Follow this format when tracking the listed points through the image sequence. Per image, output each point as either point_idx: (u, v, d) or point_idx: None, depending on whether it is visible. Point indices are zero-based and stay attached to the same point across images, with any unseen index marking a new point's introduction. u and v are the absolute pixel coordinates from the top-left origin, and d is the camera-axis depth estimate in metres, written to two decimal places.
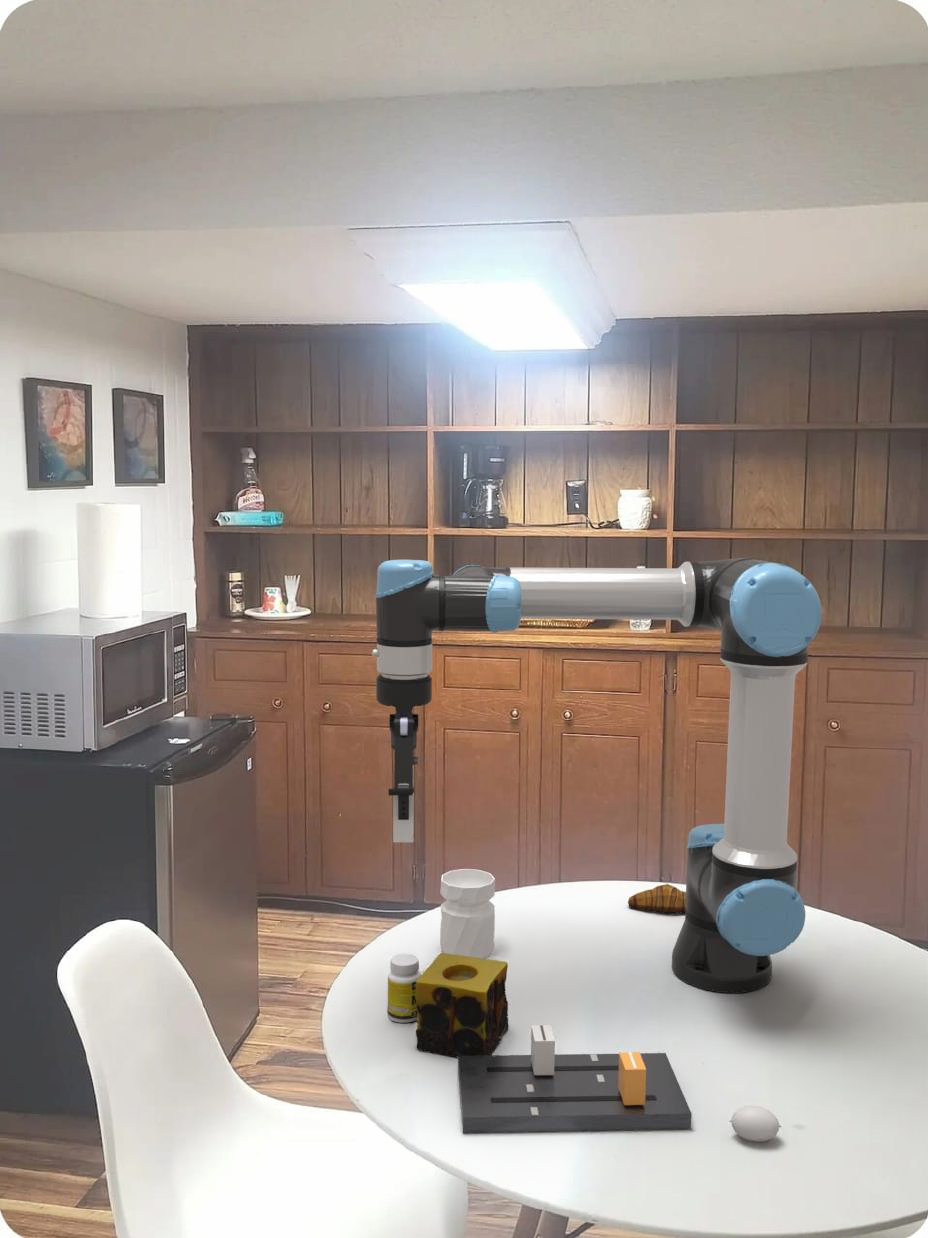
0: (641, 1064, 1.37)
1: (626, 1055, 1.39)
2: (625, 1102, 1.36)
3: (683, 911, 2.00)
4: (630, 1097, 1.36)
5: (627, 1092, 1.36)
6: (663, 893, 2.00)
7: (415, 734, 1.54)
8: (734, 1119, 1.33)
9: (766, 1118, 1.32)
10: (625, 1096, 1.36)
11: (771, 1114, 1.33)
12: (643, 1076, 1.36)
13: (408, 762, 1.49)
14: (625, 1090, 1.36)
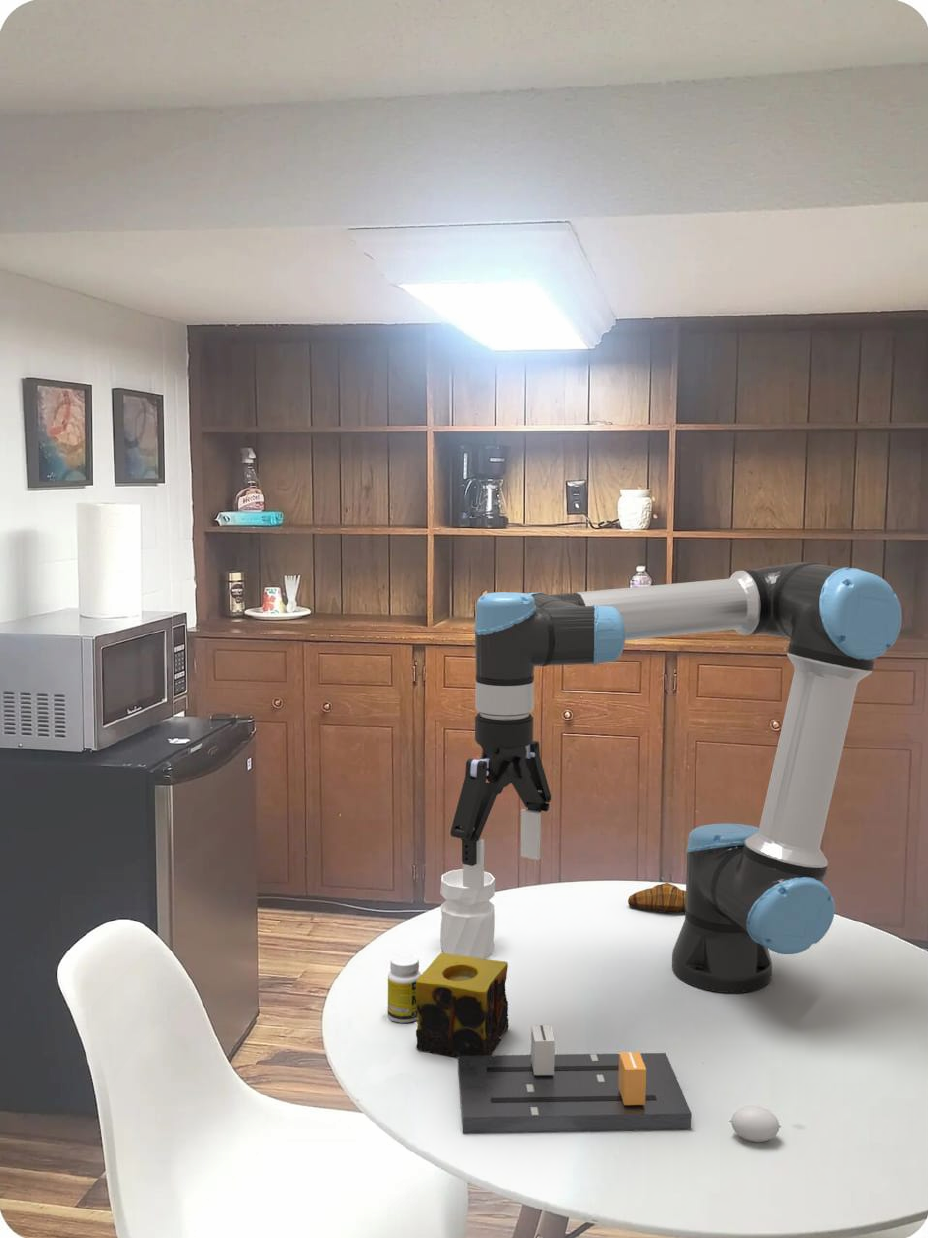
0: (641, 1064, 1.37)
1: (626, 1055, 1.39)
2: (625, 1102, 1.36)
3: (683, 910, 2.00)
4: (630, 1097, 1.36)
5: (627, 1092, 1.36)
6: (663, 892, 2.00)
7: (500, 778, 1.45)
8: (734, 1119, 1.33)
9: (766, 1118, 1.32)
10: (625, 1096, 1.36)
11: (771, 1114, 1.33)
12: (643, 1076, 1.36)
13: (470, 806, 1.41)
14: (625, 1090, 1.36)
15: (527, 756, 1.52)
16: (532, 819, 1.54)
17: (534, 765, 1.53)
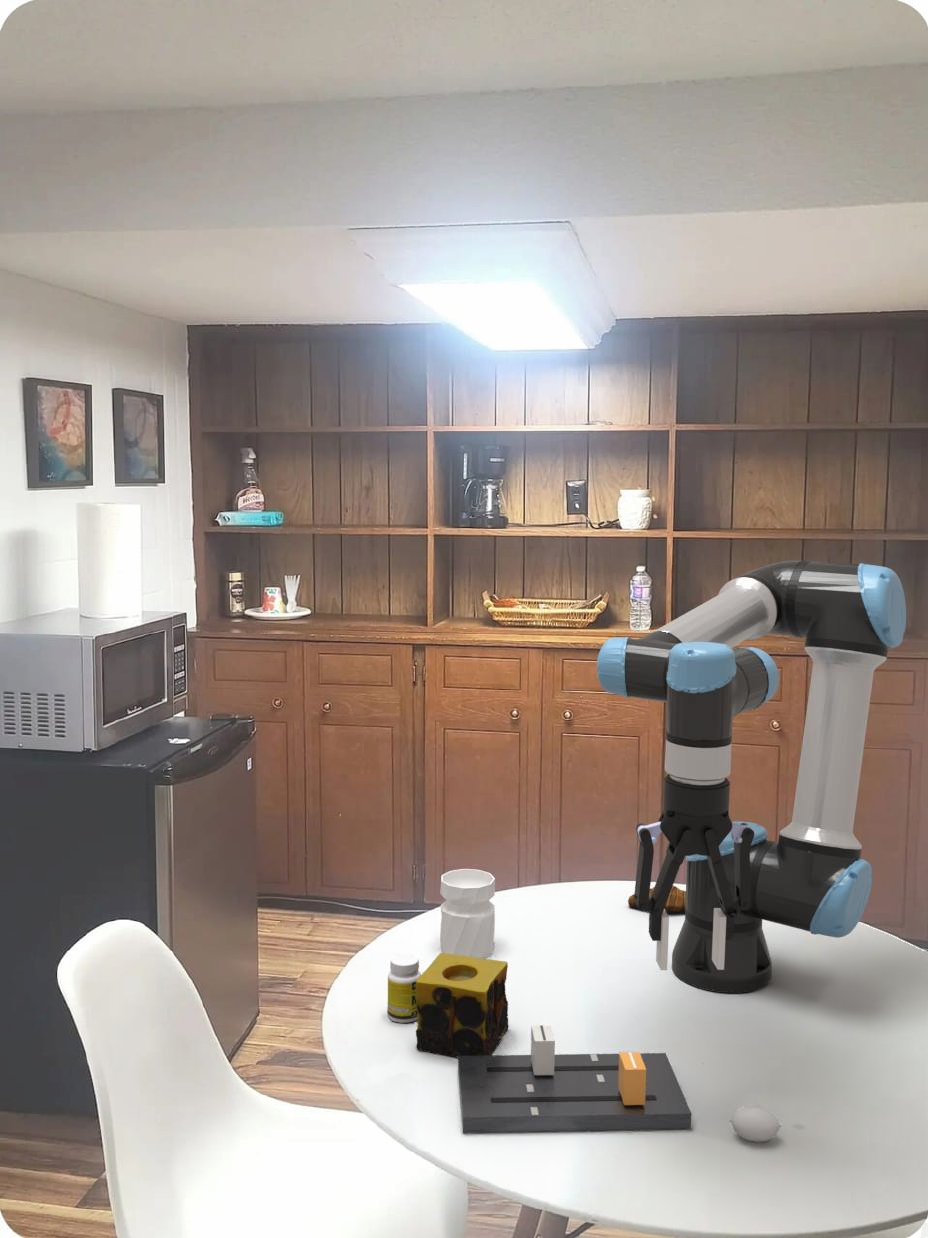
0: (641, 1064, 1.37)
1: (626, 1055, 1.39)
2: (625, 1102, 1.36)
3: (683, 910, 2.00)
4: (630, 1097, 1.36)
5: (627, 1092, 1.36)
6: None
7: (676, 848, 1.33)
8: (734, 1119, 1.33)
9: (766, 1118, 1.32)
10: (625, 1096, 1.36)
11: (771, 1114, 1.33)
12: (643, 1076, 1.36)
13: (640, 876, 1.34)
14: (625, 1090, 1.36)
15: (734, 838, 1.34)
16: (717, 922, 1.35)
17: (738, 854, 1.34)
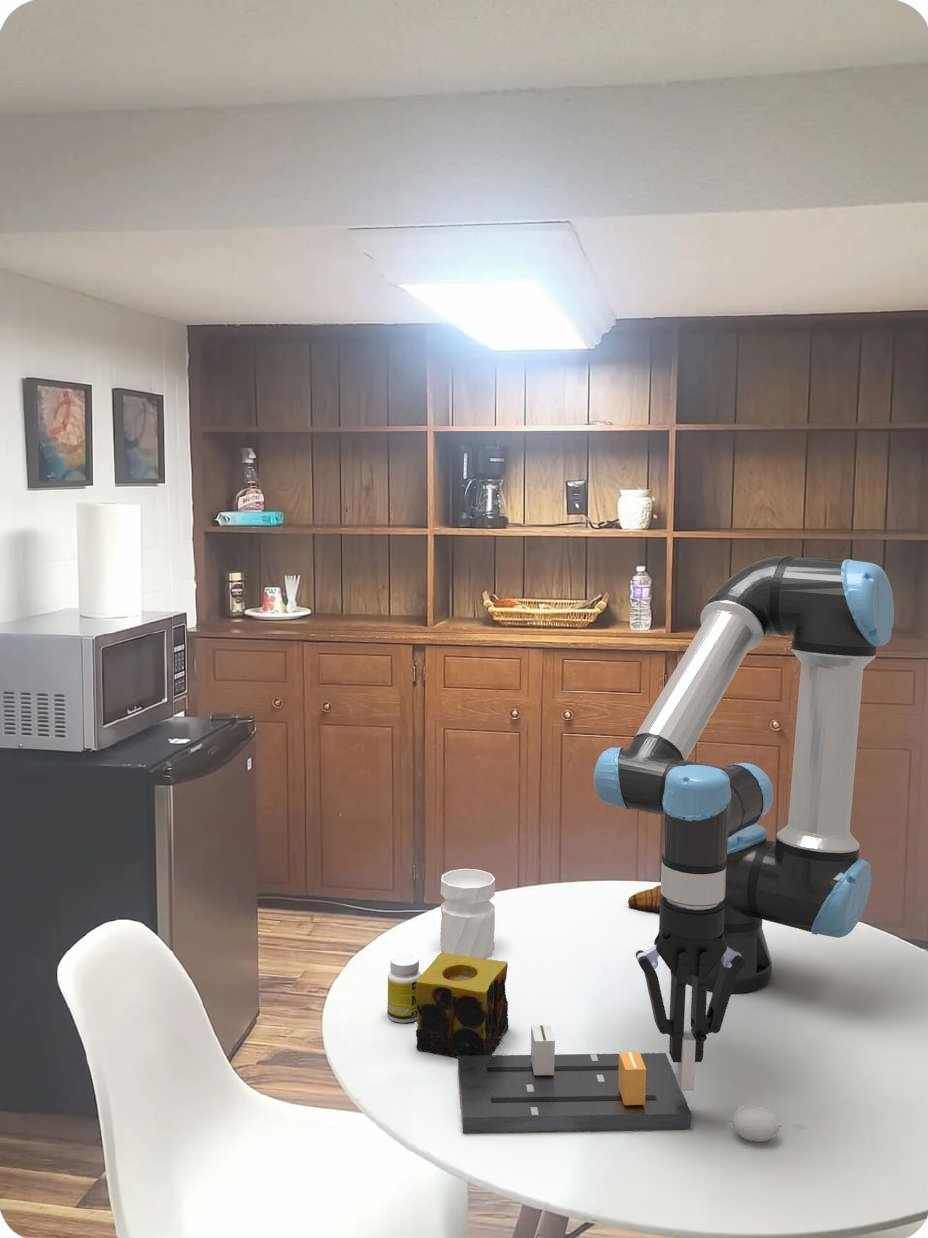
0: (641, 1064, 1.37)
1: (626, 1055, 1.39)
2: (625, 1102, 1.36)
3: None
4: (630, 1097, 1.36)
5: (627, 1092, 1.36)
6: None
7: (677, 972, 1.35)
8: (734, 1119, 1.33)
9: (766, 1118, 1.32)
10: (625, 1096, 1.36)
11: (771, 1114, 1.33)
12: (643, 1076, 1.36)
13: (652, 1001, 1.36)
14: (625, 1090, 1.36)
15: (724, 962, 1.36)
16: None
17: (724, 978, 1.36)
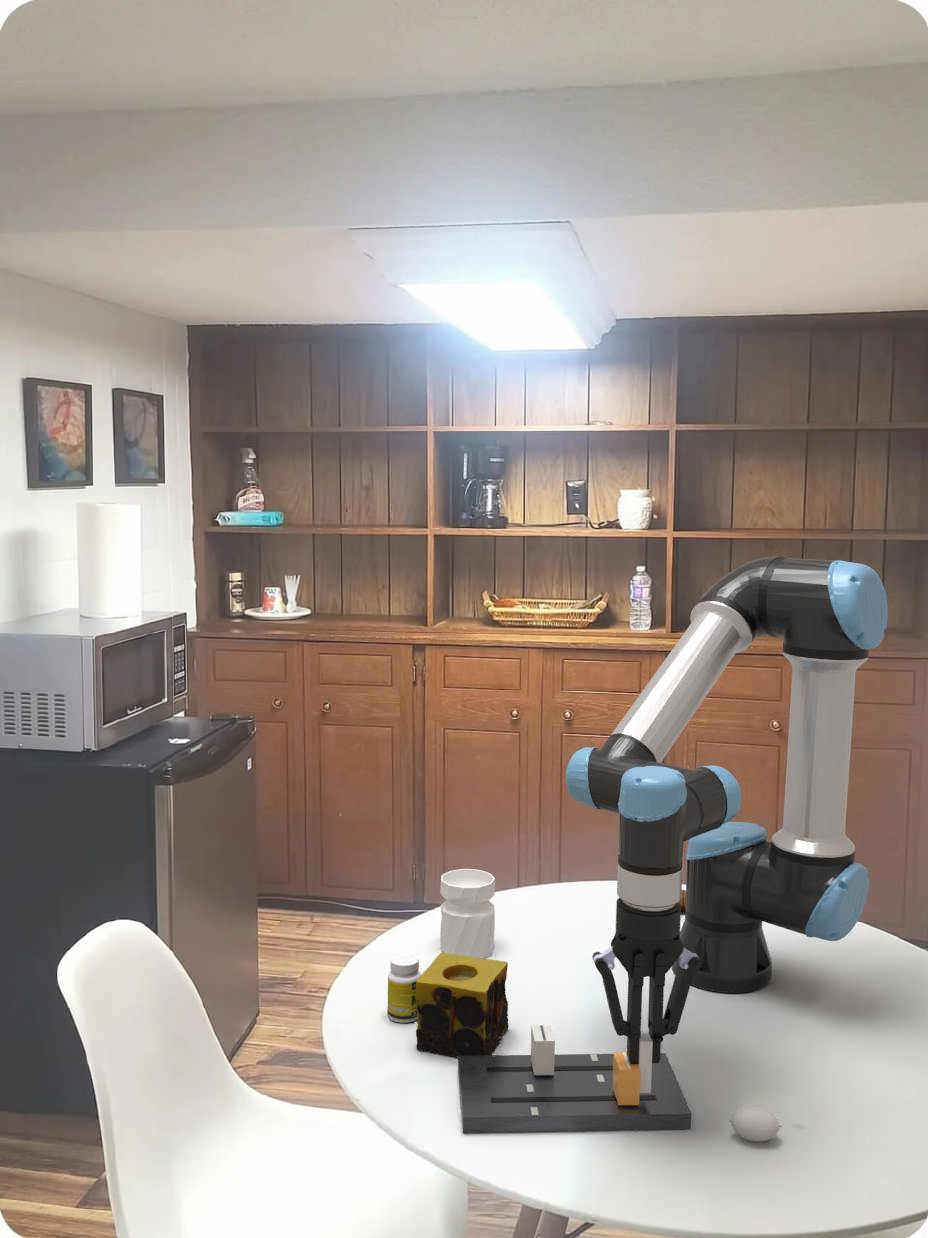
0: (635, 1064, 1.37)
1: (620, 1055, 1.39)
2: (619, 1102, 1.36)
3: (683, 909, 2.00)
4: (624, 1097, 1.36)
5: (621, 1092, 1.36)
6: None
7: (633, 974, 1.35)
8: (734, 1119, 1.33)
9: (766, 1118, 1.32)
10: (619, 1096, 1.36)
11: (771, 1114, 1.33)
12: (637, 1076, 1.36)
13: (609, 1003, 1.36)
14: (619, 1090, 1.36)
15: (680, 963, 1.36)
16: None
17: (680, 979, 1.36)
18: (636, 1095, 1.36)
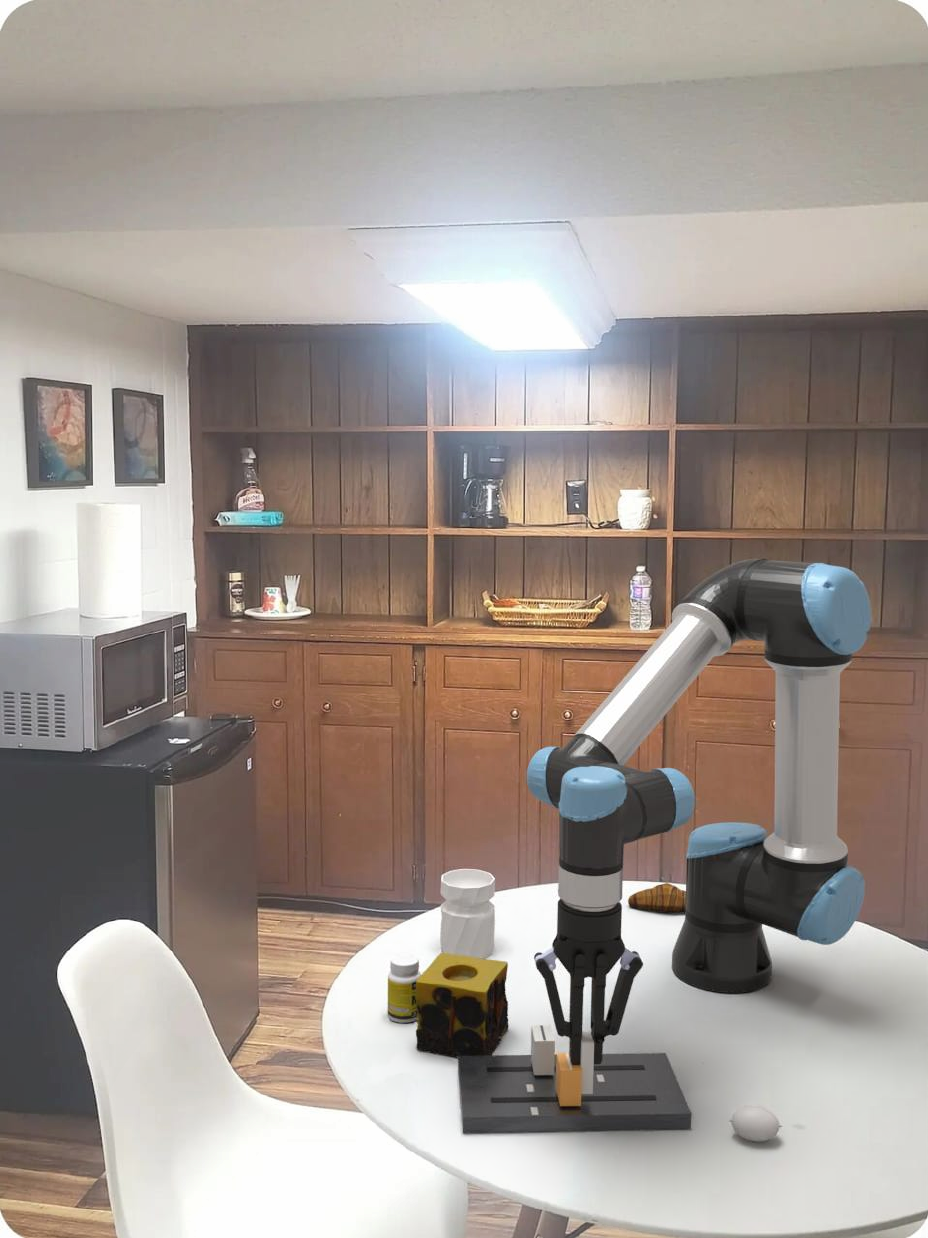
0: (577, 1065, 1.37)
1: (563, 1056, 1.39)
2: (561, 1103, 1.36)
3: (683, 910, 2.00)
4: (566, 1098, 1.36)
5: (563, 1093, 1.36)
6: (663, 892, 2.00)
7: (574, 974, 1.34)
8: (734, 1119, 1.33)
9: (766, 1118, 1.32)
10: (561, 1097, 1.36)
11: (771, 1114, 1.33)
12: (579, 1077, 1.36)
13: (550, 1004, 1.35)
14: (561, 1091, 1.36)
15: (622, 964, 1.36)
16: None
17: (622, 980, 1.35)
18: (578, 1096, 1.36)
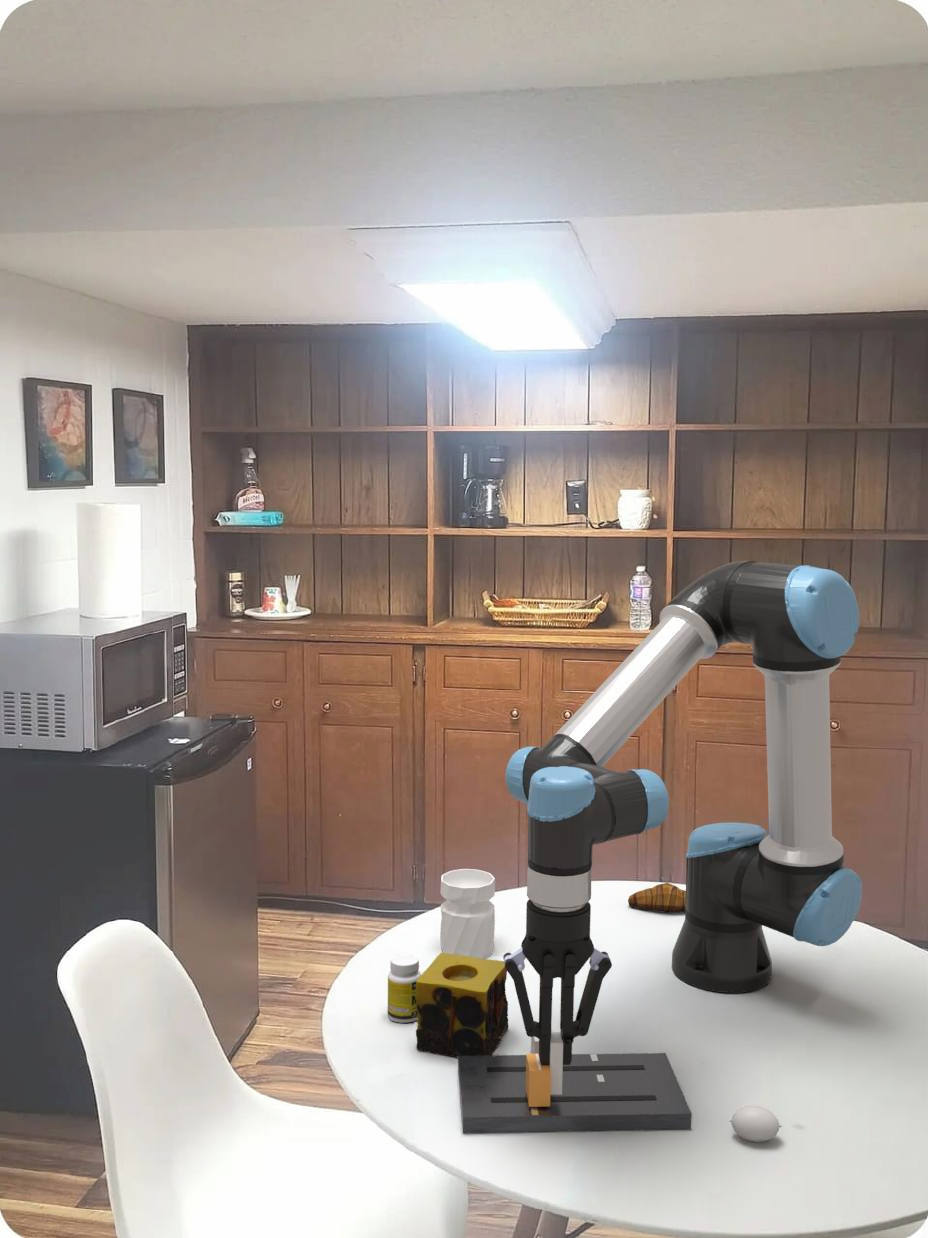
0: (546, 1065, 1.36)
1: (533, 1056, 1.38)
2: (530, 1104, 1.36)
3: (683, 910, 2.00)
4: (535, 1098, 1.36)
5: (532, 1093, 1.36)
6: (663, 892, 2.00)
7: (542, 975, 1.34)
8: (734, 1119, 1.33)
9: (766, 1118, 1.32)
10: (530, 1097, 1.36)
11: (771, 1114, 1.33)
12: (548, 1077, 1.35)
13: (519, 1004, 1.35)
14: (530, 1091, 1.36)
15: (591, 964, 1.35)
16: None
17: (591, 980, 1.35)
18: (547, 1096, 1.36)
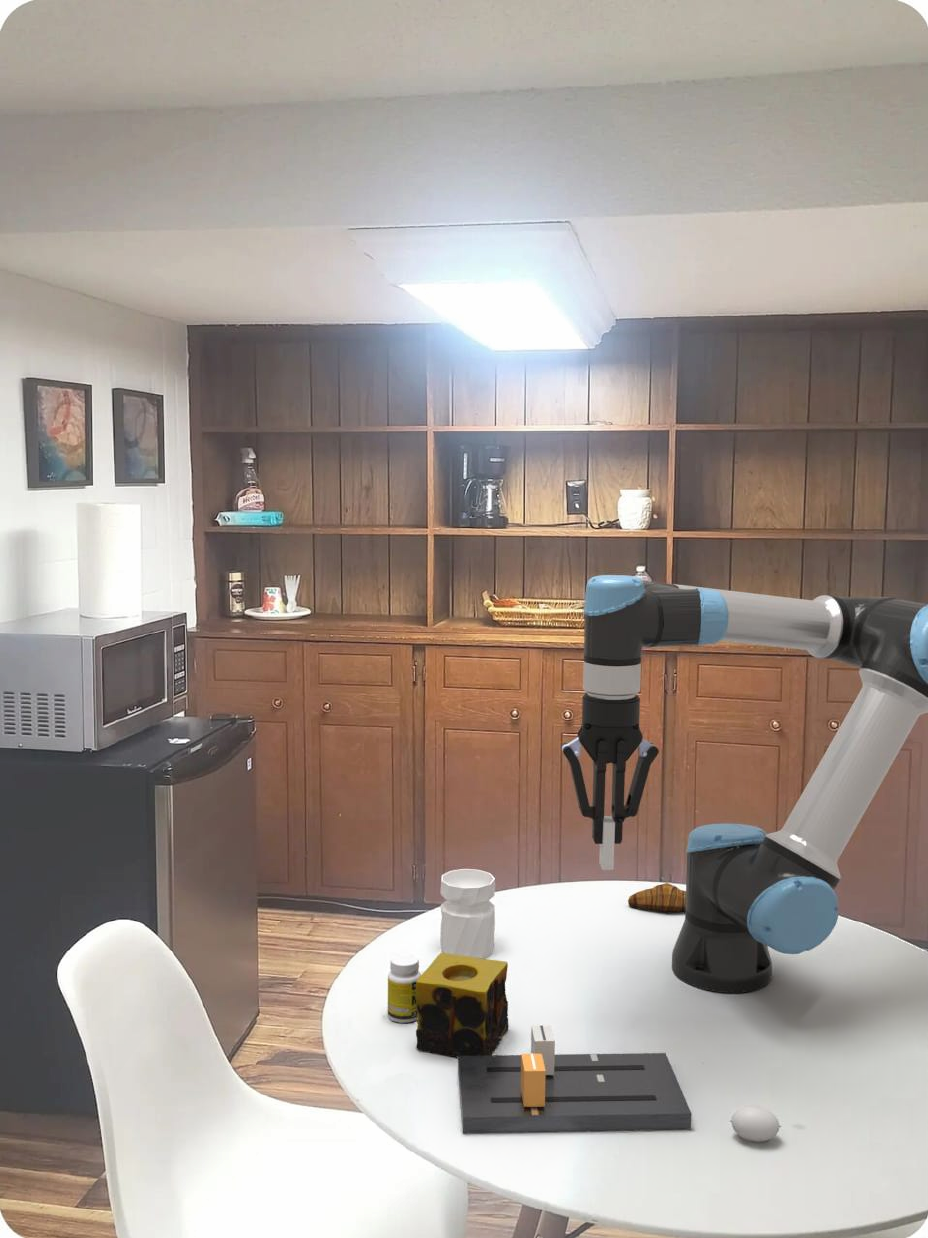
0: (541, 1065, 1.36)
1: (528, 1056, 1.38)
2: (525, 1104, 1.36)
3: (683, 910, 2.01)
4: (530, 1099, 1.36)
5: (527, 1094, 1.36)
6: (663, 892, 2.00)
7: (597, 759, 1.50)
8: (734, 1119, 1.33)
9: (766, 1118, 1.32)
10: (525, 1098, 1.36)
11: (771, 1114, 1.33)
12: (542, 1077, 1.35)
13: (575, 787, 1.51)
14: (525, 1092, 1.36)
15: (640, 752, 1.51)
16: None
17: (640, 766, 1.51)
18: (541, 1096, 1.36)
